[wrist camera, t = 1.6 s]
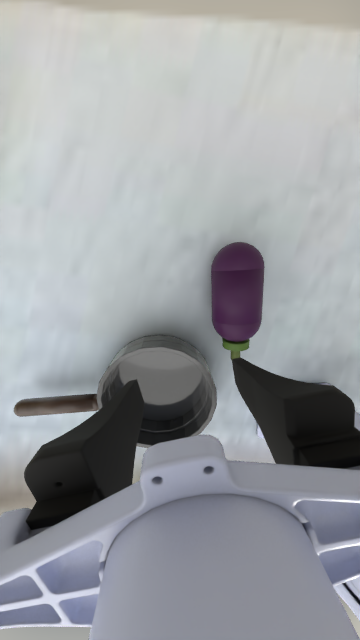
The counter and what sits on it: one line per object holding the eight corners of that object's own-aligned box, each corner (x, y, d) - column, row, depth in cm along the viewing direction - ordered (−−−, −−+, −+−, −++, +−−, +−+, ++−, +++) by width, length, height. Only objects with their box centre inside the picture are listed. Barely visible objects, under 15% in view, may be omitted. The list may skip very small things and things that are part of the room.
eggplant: (206, 246, 21) (217, 240, 16) (252, 243, 21) (276, 236, 16) (209, 351, 24) (218, 372, 19) (248, 348, 24) (267, 368, 19)
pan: (208, 330, 23) (215, 342, 20) (210, 418, 27) (217, 444, 23) (100, 337, 23) (86, 351, 19) (117, 426, 27) (107, 453, 23)
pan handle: (105, 389, 22) (99, 400, 21) (108, 402, 23) (102, 413, 21) (20, 396, 22) (7, 407, 21) (24, 409, 23) (12, 421, 21)
